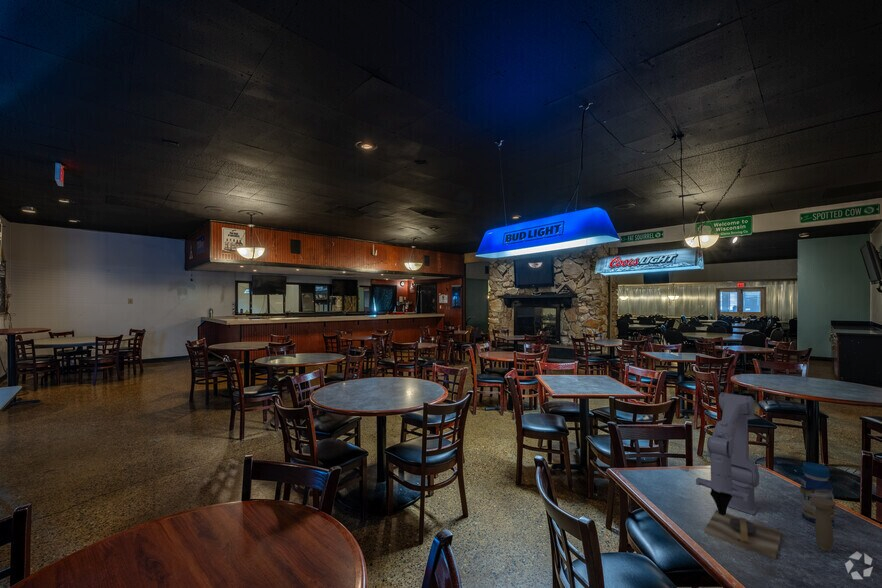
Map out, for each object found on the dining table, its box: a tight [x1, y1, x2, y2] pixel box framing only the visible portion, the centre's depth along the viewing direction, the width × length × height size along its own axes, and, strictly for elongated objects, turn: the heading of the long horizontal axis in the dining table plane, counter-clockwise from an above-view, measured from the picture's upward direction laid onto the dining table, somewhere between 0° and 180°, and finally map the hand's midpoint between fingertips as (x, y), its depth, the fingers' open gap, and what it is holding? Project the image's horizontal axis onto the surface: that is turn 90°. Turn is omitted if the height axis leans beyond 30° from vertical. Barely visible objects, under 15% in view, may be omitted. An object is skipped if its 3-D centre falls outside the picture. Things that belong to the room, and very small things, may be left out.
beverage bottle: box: [799, 461, 835, 529], centre depth 131 cm, size 8×8×20 cm
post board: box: [704, 509, 783, 561], centre depth 124 cm, size 18×18×2 cm
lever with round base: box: [730, 517, 756, 541], centre depth 122 cm, size 12×7×3 cm, turn 143°
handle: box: [811, 497, 836, 553], centre depth 116 cm, size 5×6×15 cm
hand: (722, 513), depth 124 cm, fingers closed
